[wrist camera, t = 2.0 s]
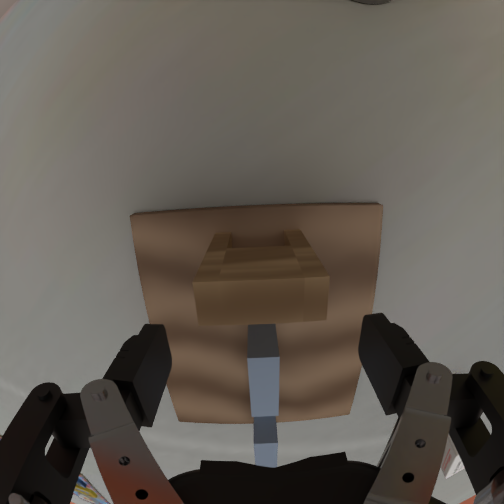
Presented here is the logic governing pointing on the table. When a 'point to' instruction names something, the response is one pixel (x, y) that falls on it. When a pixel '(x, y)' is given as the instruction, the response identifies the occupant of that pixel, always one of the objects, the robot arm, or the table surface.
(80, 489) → the puzzle board
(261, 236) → the walnut base board
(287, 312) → the oak slotted plate
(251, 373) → the slate-blue slotted plate
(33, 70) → the table surface
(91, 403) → the robot arm
